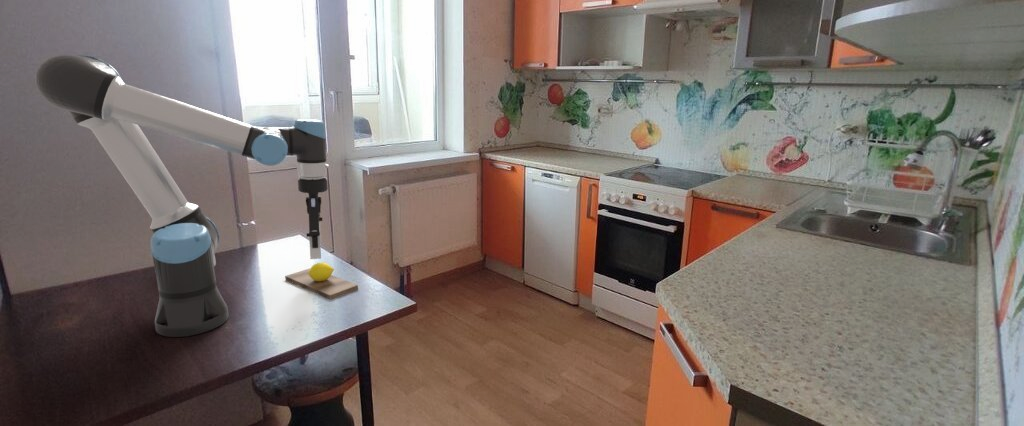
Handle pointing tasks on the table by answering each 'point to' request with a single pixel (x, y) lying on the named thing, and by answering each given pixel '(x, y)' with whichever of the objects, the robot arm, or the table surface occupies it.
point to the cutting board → (322, 284)
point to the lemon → (320, 271)
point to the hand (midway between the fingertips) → (316, 250)
